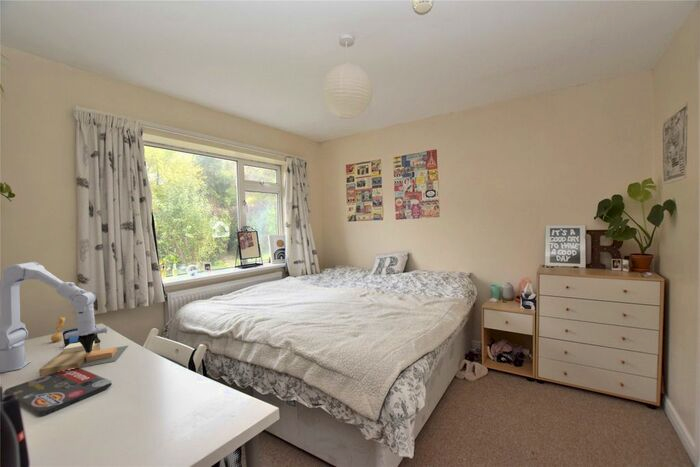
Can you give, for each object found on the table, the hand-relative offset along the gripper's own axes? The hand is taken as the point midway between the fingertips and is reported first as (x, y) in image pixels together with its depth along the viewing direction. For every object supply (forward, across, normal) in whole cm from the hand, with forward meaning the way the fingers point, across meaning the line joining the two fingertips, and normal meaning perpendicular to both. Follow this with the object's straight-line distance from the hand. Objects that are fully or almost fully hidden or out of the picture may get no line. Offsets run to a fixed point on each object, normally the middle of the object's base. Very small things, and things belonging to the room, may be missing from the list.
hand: (88, 351), depth 131 cm
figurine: (+3, -24, +36) cm, 44 cm away
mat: (+3, +6, 0) cm, 6 cm away
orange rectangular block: (+3, +4, 0) cm, 5 cm away
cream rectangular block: (+1, -6, +9) cm, 11 cm away
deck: (+3, -6, +2) cm, 8 cm away
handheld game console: (+4, -11, +24) cm, 27 cm away
